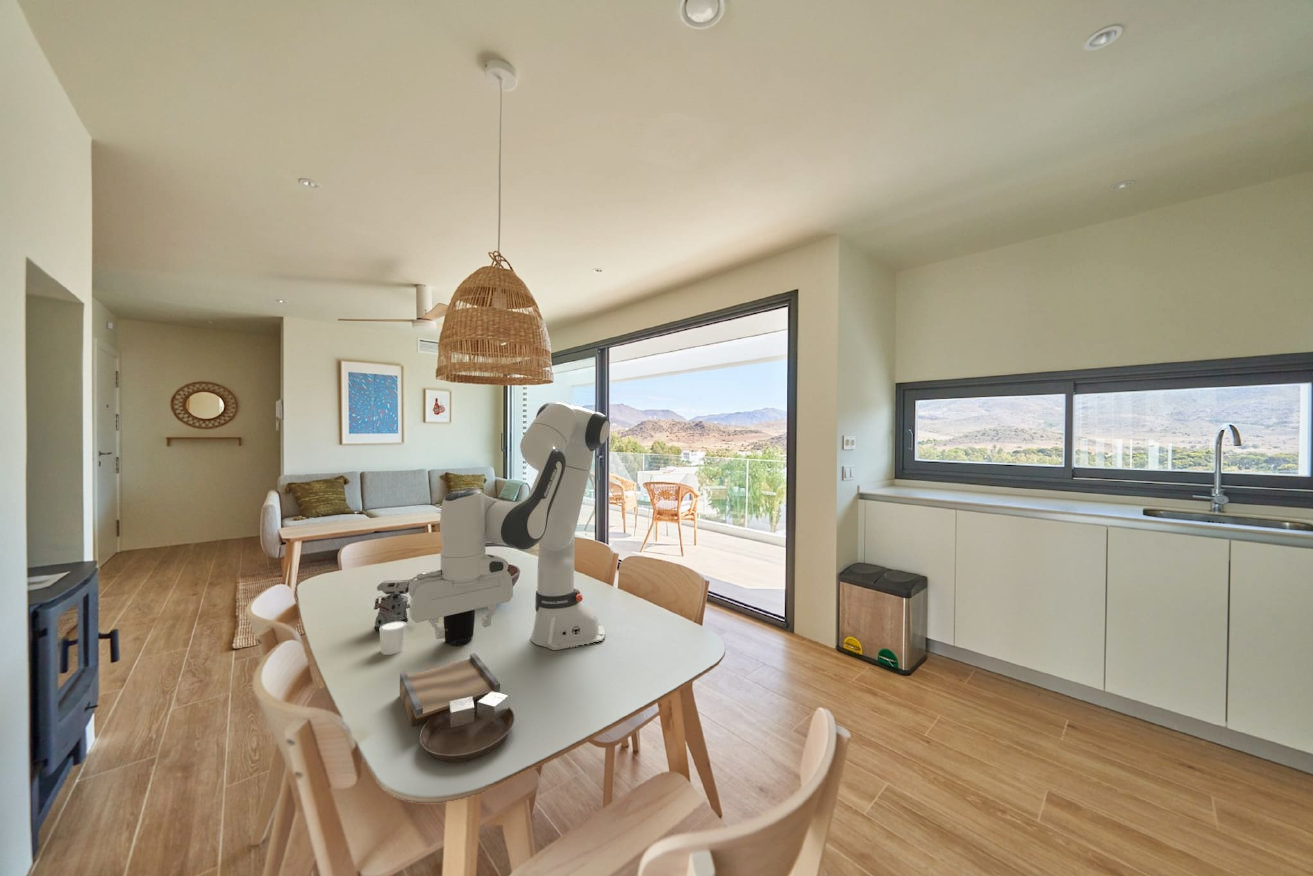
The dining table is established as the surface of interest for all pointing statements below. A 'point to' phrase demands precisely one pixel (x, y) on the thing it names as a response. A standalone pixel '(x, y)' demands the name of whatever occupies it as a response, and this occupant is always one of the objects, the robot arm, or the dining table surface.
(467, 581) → the robot arm
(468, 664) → the brown and grey tray
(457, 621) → the portable speaker
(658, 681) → the dining table surface
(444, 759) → the plant saucer
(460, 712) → the off-white small block
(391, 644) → the white cylinder
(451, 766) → the dining table surface
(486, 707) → the silver block
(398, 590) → the figurine
